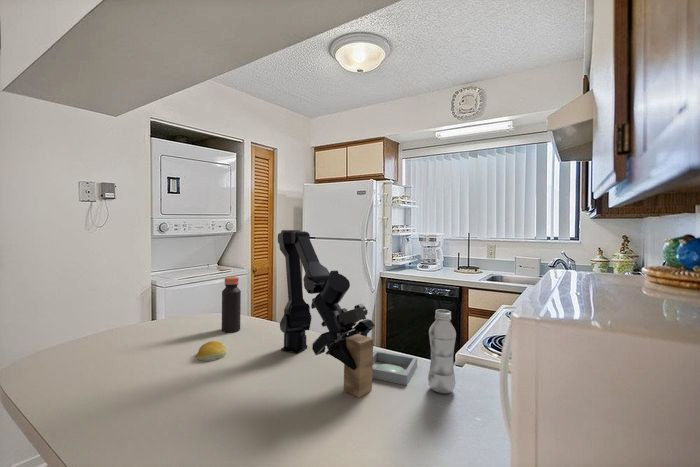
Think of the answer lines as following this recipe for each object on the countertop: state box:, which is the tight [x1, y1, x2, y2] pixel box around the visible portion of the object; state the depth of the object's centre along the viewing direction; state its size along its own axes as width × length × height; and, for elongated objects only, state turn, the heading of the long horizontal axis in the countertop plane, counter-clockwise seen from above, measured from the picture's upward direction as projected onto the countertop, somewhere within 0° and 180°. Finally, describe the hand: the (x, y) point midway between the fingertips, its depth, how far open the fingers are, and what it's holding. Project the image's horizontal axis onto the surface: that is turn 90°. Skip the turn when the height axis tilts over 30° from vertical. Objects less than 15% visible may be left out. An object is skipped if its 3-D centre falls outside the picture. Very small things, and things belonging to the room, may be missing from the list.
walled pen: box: [372, 350, 418, 386], centre depth 96 cm, size 13×13×2 cm
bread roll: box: [196, 340, 227, 362], centre depth 104 cm, size 8×9×4 cm
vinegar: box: [221, 276, 242, 334], centre depth 128 cm, size 7×7×20 cm
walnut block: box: [343, 334, 374, 398], centre depth 84 cm, size 5×5×13 cm
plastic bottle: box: [427, 309, 457, 394], centre depth 85 cm, size 6×7×20 cm
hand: (362, 365), depth 83 cm, fingers closed on walnut block, 5 cm apart
